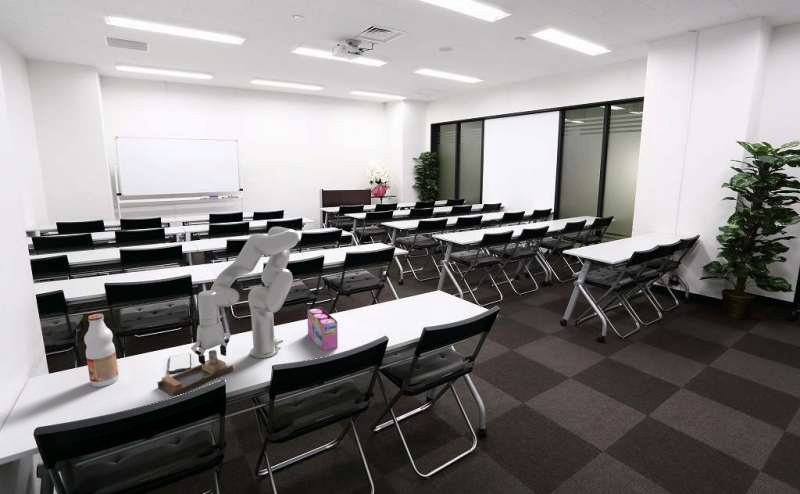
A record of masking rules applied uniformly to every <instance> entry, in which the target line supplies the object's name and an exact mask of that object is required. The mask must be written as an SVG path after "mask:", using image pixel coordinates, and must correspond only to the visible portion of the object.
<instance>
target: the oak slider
mask: <svg viewBox="0 0 800 494" xmlns="http://www.w3.org/2000/svg"><path fill="white" fill-rule="evenodd" d="M217 358H218V351H217V350H215V349H213V350H209V351H208V360H205V364H204V365H203V364H202V370H204V371H206V372H208V373H210V374H212V373H215V372H217V371H219V370H222V369H224V368H226V366H227V363H226V362H225V361H223V360H221V359H219V358H218V359H217Z"/></svg>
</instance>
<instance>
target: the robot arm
mask: <svg viewBox="0 0 800 494" xmlns="http://www.w3.org/2000/svg"><path fill="white" fill-rule="evenodd" d="M299 239H300V237H299V234H298V232H297V231H296V230H294V229H292V228H287V227H282V226H273V227H270V228H269V230H268V231H267V235H266V234H262V233H253V234H252V235H250V236H249V238H248V239H247V240H246V242H245V244H244V245H243V247H242V248H241V251H240V252H239V253H238V255H237V257H236V259H235V260H234V261H233V262H232V263H231V264H229V265H228V266H227V267H225V268H224V269H223V270H222V271H221V272H220V273H219V275H218V276H216V279H215V281H214V282H213V284H212V285H211V288H210V290H204V291H200V292H199V293H198V294H197V304H198V305H197V306H198V315H199V316H198V317H199V325H197V331H196V342H195V343H194V344H193V345H192V346H191V347H190V350H191V351H192V352H193V354H195V355H197V356H198V363H200V365H201V364H203V365H204V364H205V361H206V355H205V354H204V353H206V351H207V350H210V349H213V348H215V347H217V346H219V351H220V355H221V356H224V357H226V356H227V346H228V343H230V339H231V336H232V335H231V333H228V332H225V330H224V326H223V323H222V321H221V318H223V315H222V314H220V308H225V307H226V308H227V307H231V306H235V305H236V304H238V302H239V301H240V294H239V292H238V290H236V289H235V288H231V286H232V284H233V283H234V282H235V280H237V279H238V278H240V277H242V276H245V275H248V274H250V273H253V271H254V269H256V267H257V266H258V265H257V264H258V263H259V261H260V259H261V258H262V257H263V256H269V257H268V260H267V263H266V264H265V267H264V269H263V271H262V273H261V276H260V278H261V282H262V283H263V284H265V285H266V286H269V288H268V287H265V286H261V285H260V286H255V287H253V288H252V289H250V291H249V293H248V296H247V300H248V306H249V309H250V317H251V330H252V331H251V332H252V333H251V334H252V344H253V345H252V346H253V348H251V349H250V352H249V354H250V356H251V357H252V358H257V359H266V357H267V358H270V356H271V357H273V356H275V355H277V354H278V353H279V347H278V345H279V344H282V343H283V342H284V339H283V338H280V339H277V338H275V323H274V320H275V319H274V313H276V312H278V311H280V309H281V308H282V307H283V304H284V303H285V300H286V298H287V296H288V295H289V292H290V290H291V287H292V285H293V281H294V279H293V278H294V277H293V274H292V272H291V270H289V269H287V266H288V263H289V261H290V254H291V253H290V252H291V251H290V249H292V248H294V247H295V246H296V245H297V244H298V242H299ZM276 353H277V354H276Z"/></svg>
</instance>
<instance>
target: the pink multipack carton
mask: <svg viewBox="0 0 800 494" xmlns="http://www.w3.org/2000/svg"><path fill="white" fill-rule="evenodd" d="M307 335H308V336H309V337H310V338H311V339H312V341H314V343H315V344H316V345H317V346H318V347H319V348H320V350H321V351H323V352H325V351H329V350H334V349H337V348H338V345H339V344H338V342H339V341H338V339H339V338H338V336H339V335H338V320H336V319H335V318H334V317H333V316H331V314H329V312H327V311H326V310H325V309H324V308H323V307H321V306H318V307H317V308H312V309H309V308H307Z"/></svg>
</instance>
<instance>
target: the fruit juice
mask: <svg viewBox="0 0 800 494" xmlns="http://www.w3.org/2000/svg"><path fill="white" fill-rule="evenodd" d="M87 321H88V322H89V326H88V329H87V332H86V333H85V335H84V338H83V341H84V344H85V346H86V349H85V356H86V364H87V369H88V376H89V383H90V385H91V386H92V387H94V388H95V387H96V388H102V387H107V386H109V385H113V384H114V383H115V382H117V381H118V380H119V378H120V375H119V368H118V367H119V366H118V360H117V354H116V353H117V352H116V347H115V344H114V342H113V338H114V334H113V331H112V330H111V329H110V328H108V326H106V323H105V322H104V314H103V313H94V314H92V315H88V317H87Z"/></svg>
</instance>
